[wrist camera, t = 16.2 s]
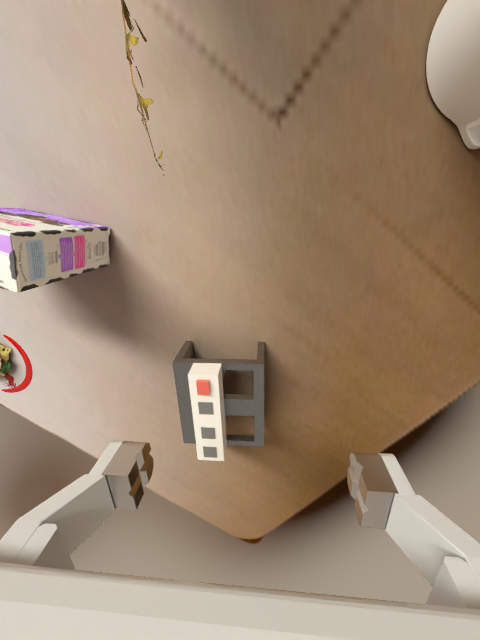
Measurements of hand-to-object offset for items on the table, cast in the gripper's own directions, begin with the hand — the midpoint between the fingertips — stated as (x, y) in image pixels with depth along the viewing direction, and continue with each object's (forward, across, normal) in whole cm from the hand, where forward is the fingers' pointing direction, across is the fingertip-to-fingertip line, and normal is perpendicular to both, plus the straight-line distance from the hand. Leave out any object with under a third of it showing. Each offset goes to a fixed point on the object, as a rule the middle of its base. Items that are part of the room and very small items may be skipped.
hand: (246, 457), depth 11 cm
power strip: (+28, +7, +18) cm, 34 cm away
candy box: (+31, +29, -7) cm, 43 cm away
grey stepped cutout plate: (+31, +6, +18) cm, 36 cm away
